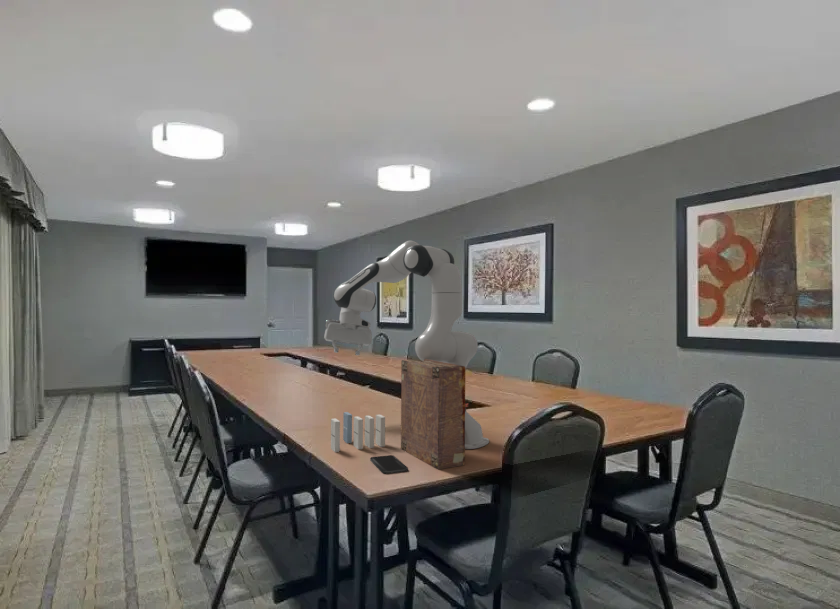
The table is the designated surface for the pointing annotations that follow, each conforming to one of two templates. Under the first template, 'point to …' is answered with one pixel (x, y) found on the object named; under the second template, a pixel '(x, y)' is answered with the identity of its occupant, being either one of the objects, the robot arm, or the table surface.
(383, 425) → the domino
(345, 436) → the domino
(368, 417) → the domino
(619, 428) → the table surface
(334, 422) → the domino
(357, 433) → the domino
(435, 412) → the book
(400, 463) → the phone
